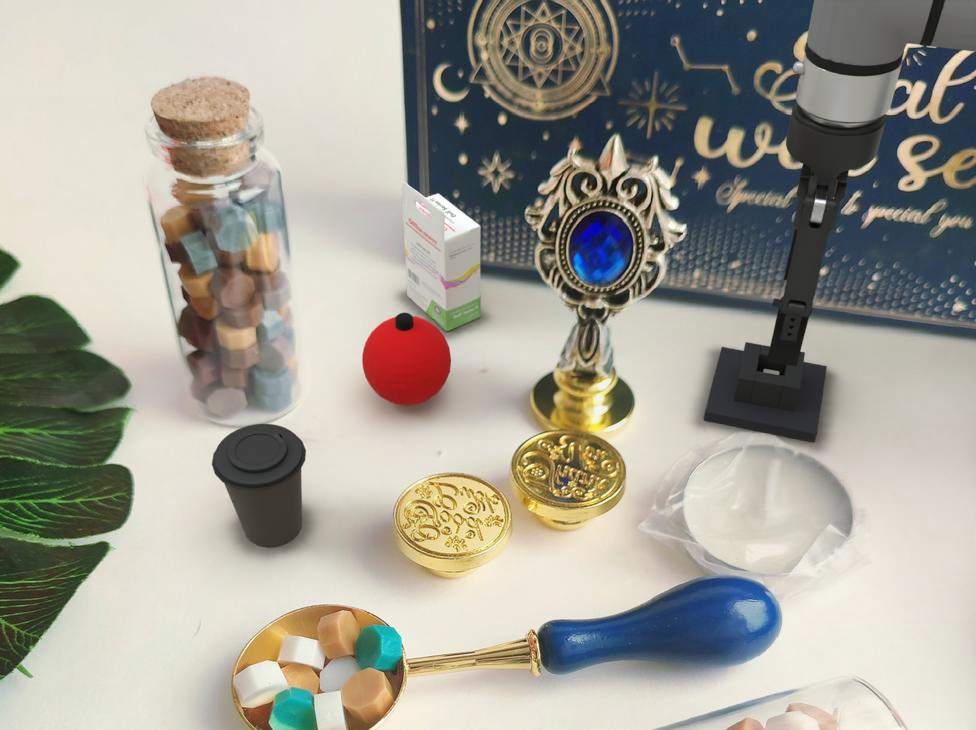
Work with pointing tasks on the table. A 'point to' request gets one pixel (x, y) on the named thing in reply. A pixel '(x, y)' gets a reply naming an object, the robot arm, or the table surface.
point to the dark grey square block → (767, 379)
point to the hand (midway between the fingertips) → (790, 319)
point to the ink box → (441, 258)
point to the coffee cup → (263, 481)
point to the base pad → (762, 417)
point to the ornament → (406, 360)
